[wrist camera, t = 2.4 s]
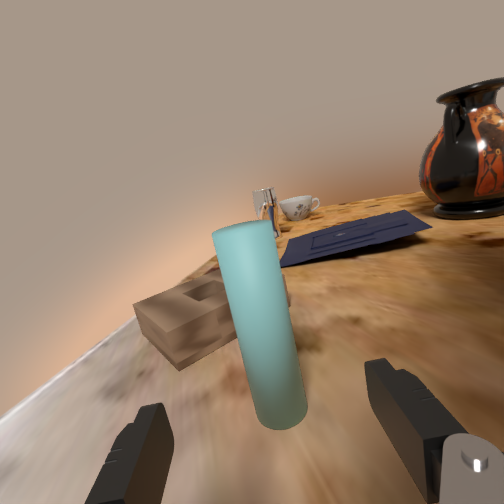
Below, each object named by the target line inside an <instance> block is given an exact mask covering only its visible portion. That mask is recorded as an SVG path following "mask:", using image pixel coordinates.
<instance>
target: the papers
mask: <svg viewBox="0 0 504 504" xmlns="http://www.w3.org/2000/svg"><path fill="white" fill-rule="evenodd" d="M429 228H433V227H432V226H430V225H428V224H426V223H425V222H423V221H421V220H420V219H418V218H416V217H415V216H413V215H412V214H410V213H409V212H408V211H406V210H401V211H398V212H394V213H386V214H382V215H378V216H372V217H369V218H365V219H359V220H355V221H352V222H348V223H344V224H341V225H337V226H333V227H329V228H326V229H322V230H318V231H315V232H311V233H309V234H305V235H302V236H299V237H296V238H292V239H289V241H288V245H287V248H286V251H285V253H284V255H283V256H282V258H281V260H280V267H283V266H287V265H292V264H296V263H299V262H303V261H307V260H309V259H313V258H317V257H322V256H326V255H330V254H334V253H338V252H342V251H346V250H350V249H355V248H359V247H363V246H367V245H371V244H378V243H382V242H386V241H390V240H394V239H396V238H400V237H404V236H408V235H412V234H415V233H413V232H417V231H421V230H425V229H429Z"/></svg>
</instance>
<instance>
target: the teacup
mask: <svg viewBox="0 0 504 504" xmlns="http://www.w3.org/2000/svg"><path fill="white" fill-rule="evenodd" d="M314 201H317V202H318V205H317V206H316V207H315V208H313V209H312V210H311V207H312V204H313V202H314ZM279 204H280V207H281V209H282V211H283V213H284V214H285V215H286V216H287V217H288V218H289V219H290V220H291V221H298V220H302V219H305V218H306V216H307V215H308V214H309V213H310V212H311V211H314V210H316V209H317V208H318V207H319V205H320V201H319V199H318V198H314V199H312V196H299V197H294V198H290V199H287V200H283V201H281V202H279Z"/></svg>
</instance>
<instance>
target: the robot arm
mask: <svg viewBox="0 0 504 504" xmlns="http://www.w3.org/2000/svg"><path fill="white" fill-rule="evenodd" d="M364 366H365V374H366V382H367V390H368V397H369V401H370V404H371V407H372V409H373V411H374V413H375V415H376V417H377V419H378V420H379V422H380V424H381V425H382V427H383V429H384V431H385V432H386V434H387V436H388V437H389V439H390V441H391V442H392V444H393V446H394V448H395V449H396V451H397V453H398V454H399V456H400V458H401V460H402V461H403V463H404V465H405V466H406V468H407V470H408V472H409V473H410V475H411V477H412V478H413V480H414V482H415V484H416V485H417V487H418V489H419V490H420V492H421V494H422V495H423V497H424V499H425V501H426V502H427V504H433V503H438V502H439V504H504V452H501V451H500V450H499V449H498V448H497V447H495V446H494V445H493V444H491V443H490V442H488V441H487V440H485V439H483V438H480V437H478V436H475V435H471V434H469V433H468V432H467V431H466V430H465V429H464V428H463V427H462V425H461V424H460V423H459V422H458V421H457V420H456V419H455V418H454V417H453V416H452V415H451V413H450V412H449V411H448V410H447V409H446V408H445V407H444V406H443V405H442V404H441V403H440V401H439V400H438V399H437V398H435V396H434V395H433V394H432V393H431V392H430V390H429V389H428V390H427V387H426V386H425V385H424V384H423V383H422V382H421V381H420V380H419V378H418V377H417V376H415V375H413V374H411V373H410V372H408V371H406V370H404V369H400V370H395V369H394V368H393V367H392V365H391V364H390V363H389V362H388V361H387V360H386V359H385V358H381V359H376V360H371V361H367V362H365V365H364ZM173 452H174V437H173V432H172V429H171V426H170V423H169V420H168V417H167V414H166V411H165V408H164V405H163V404H162V403H156V404H151V405H146V406H142V407H141V408H140V409H139V411H138V414H137V416H136V418H135V420H134V423H129V424H127V426H126V427H125V428H124V429H123V430H122V431H121V432H120V434H119V435H118V436H117V438H116V440H115V442H114V444H113V446H112V448H111V452H110V453H109V454H108V456H107V458H106V460H105V464H103V466H102V468H101V471H100V473H99V475H98V477H97V479H96V481H95V483H94V485H93V487H92V489H91V491H90V493H89V495H88V497H87V499H86V501H85V503H84V504H161V501H162V497H163V493H164V488H165V484H166V480H167V476H168V472H169V468H170V464H171V460H172V456H173Z"/></svg>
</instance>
